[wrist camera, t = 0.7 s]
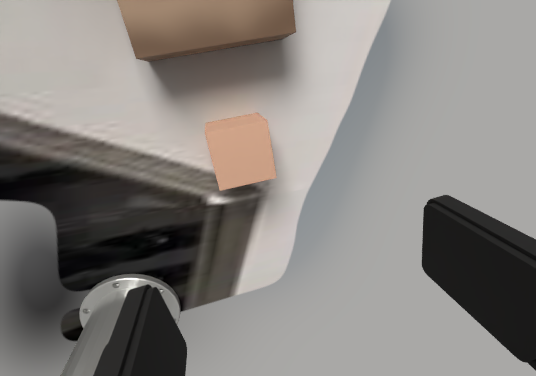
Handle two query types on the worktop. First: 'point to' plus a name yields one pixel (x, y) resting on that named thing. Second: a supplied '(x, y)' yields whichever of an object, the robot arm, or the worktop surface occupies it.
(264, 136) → the peach cube
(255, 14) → the walnut stand
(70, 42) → the worktop surface
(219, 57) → the worktop surface
